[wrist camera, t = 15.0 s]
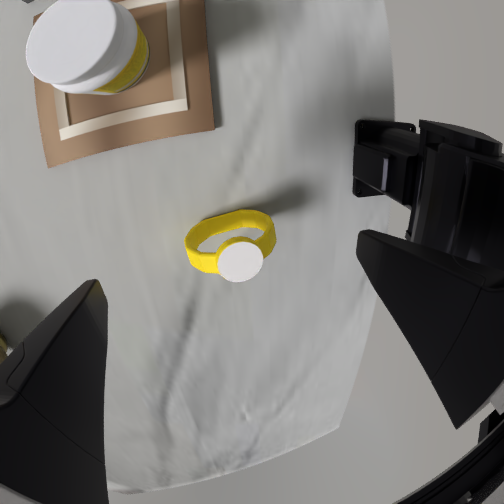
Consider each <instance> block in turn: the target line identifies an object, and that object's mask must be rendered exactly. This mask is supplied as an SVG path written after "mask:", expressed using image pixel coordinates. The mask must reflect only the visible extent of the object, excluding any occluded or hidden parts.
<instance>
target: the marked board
mask: <svg viewBox="0 0 504 504" xmlns="http://www.w3.org/2000/svg"><path fill="white" fill-rule="evenodd" d="M110 1H111V2H115V3H118V4H120V5H122V6H123V7H125V8H126V9H127V10H128V11H129V12H130V13H131V14H132V15H133V17H134V19H135V20H136V22H137V24H138V25H139V27H140V29H141V31H142V32H143V34H144V36H145V37H146V39H147V41H148V43H149V47H150V61H149V65H148V67H147V70H146V72H145V73H144V75H143V76H142V78H141V79H140V80H139V81H138V82H137V83H136V84H135V85H134V86H132V87H131V88H129V89H127V90H125V91H123V92H121V93H118V94H113V95H98V94H73V93H67V92H63V91H61V90H59V89H57V88H55V87H54V86H53V85H51V84H50V83H46V82H43V81H41V80H39V79H38V78H36V77H35V76H34V83H35V94H36V103H37V111H38V118H39V125H40V131H41V137H42V142H43V147H44V152H45V157H46V162H47V166H48V168H51V167H54V166H57V165H60V164H63V163H66V162H69V161H72V160H76V159H79V158H82V157H86V156H89V155H93V154H97V153H100V152H104V151H108V150H112V149H116V148H120V147H124V146H128V145H133V144H137V143H142V142H147V141H152V140H157V139H162V138H167V137H173V136H178V135H184V134H191V133H197V132H204V131H212V130H215V127H214V117H213V106H212V95H211V84H210V72H209V60H208V48H207V34H206V20H205V5H204V0H110ZM43 13H44V12H43ZM43 13H40V14H38V15H36V16H34V21H33V26H34V24H35V23H36V21H37V20H38V19H39V17H40V16H41V15H42V14H43Z"/></svg>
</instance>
